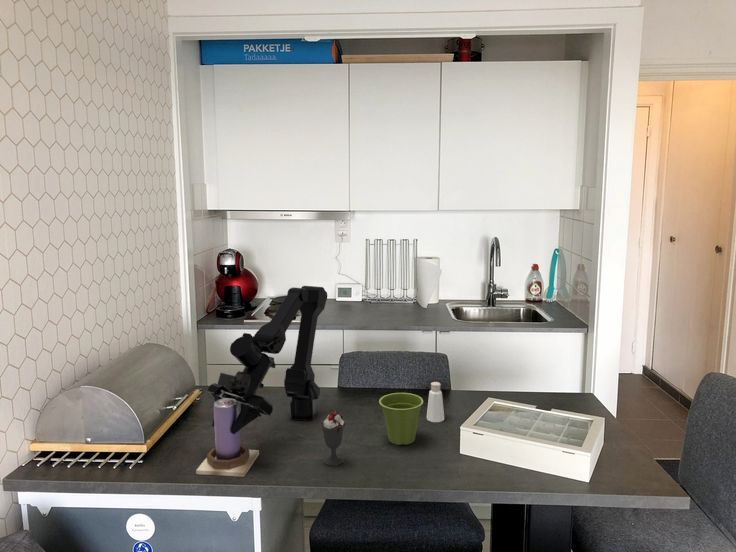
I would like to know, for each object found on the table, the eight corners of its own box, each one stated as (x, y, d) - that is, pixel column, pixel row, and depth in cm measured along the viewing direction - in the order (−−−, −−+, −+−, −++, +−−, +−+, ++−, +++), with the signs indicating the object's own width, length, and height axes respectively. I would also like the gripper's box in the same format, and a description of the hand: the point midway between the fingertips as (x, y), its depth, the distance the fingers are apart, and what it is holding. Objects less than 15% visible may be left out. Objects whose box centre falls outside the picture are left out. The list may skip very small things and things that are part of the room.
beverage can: (239, 464, 149) (236, 406, 146) (214, 465, 148) (211, 407, 146) (242, 453, 155) (239, 397, 152) (218, 454, 154) (215, 398, 152)
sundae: (327, 470, 148) (325, 412, 145) (316, 458, 154) (314, 402, 151) (351, 463, 151) (350, 406, 148) (340, 453, 157) (338, 398, 154)
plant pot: (387, 428, 171) (386, 390, 169) (427, 433, 167) (428, 395, 165) (373, 446, 160) (373, 405, 158) (416, 452, 156) (416, 411, 154)
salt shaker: (423, 421, 176) (424, 385, 174) (429, 414, 181) (429, 379, 179) (441, 423, 174) (442, 387, 172) (446, 416, 179) (447, 381, 177)
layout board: (259, 453, 157) (258, 442, 156) (244, 476, 145) (243, 465, 144) (214, 451, 158) (214, 440, 158) (196, 474, 146) (195, 462, 146)
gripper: (210, 353, 155) (177, 407, 149) (262, 366, 145) (230, 425, 138) (235, 373, 163) (205, 426, 156) (286, 387, 153) (256, 444, 146)
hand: (222, 430), depth 149 cm, fingers open, 6 cm apart
